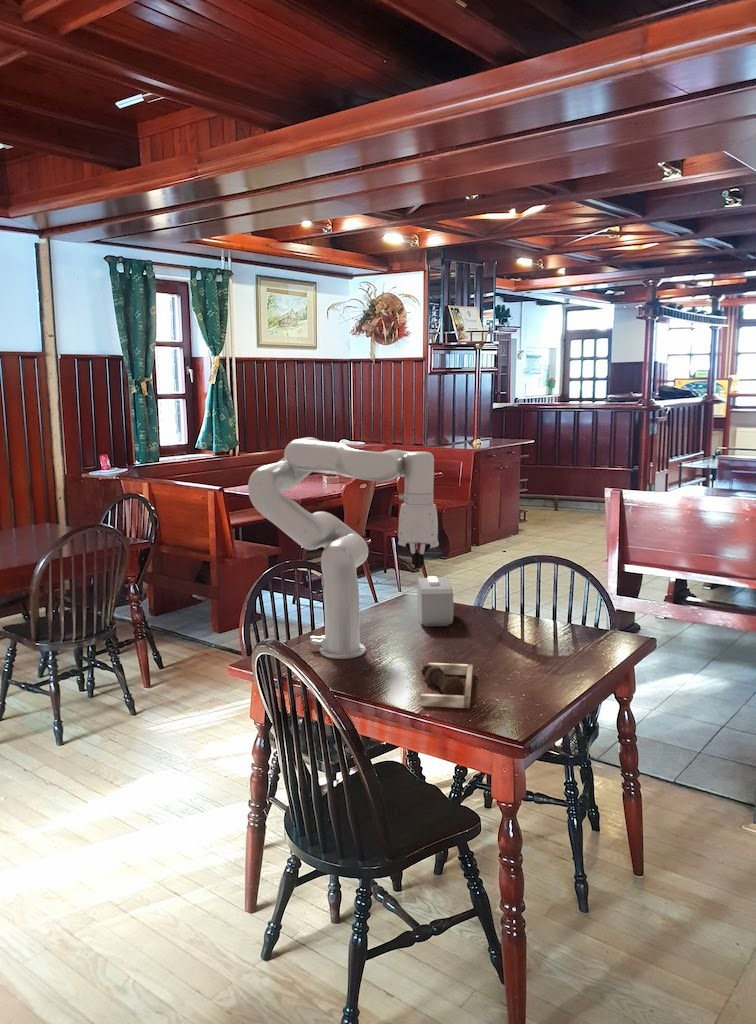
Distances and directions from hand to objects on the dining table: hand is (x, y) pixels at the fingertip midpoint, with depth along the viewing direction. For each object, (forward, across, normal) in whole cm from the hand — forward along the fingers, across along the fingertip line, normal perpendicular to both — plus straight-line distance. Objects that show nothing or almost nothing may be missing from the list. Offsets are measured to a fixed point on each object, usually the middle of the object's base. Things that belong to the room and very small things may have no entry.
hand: (418, 567), depth 216 cm
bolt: (+26, +9, -19) cm, 33 cm away
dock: (+25, +10, -20) cm, 34 cm away
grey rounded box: (+26, 0, +37) cm, 45 cm away
